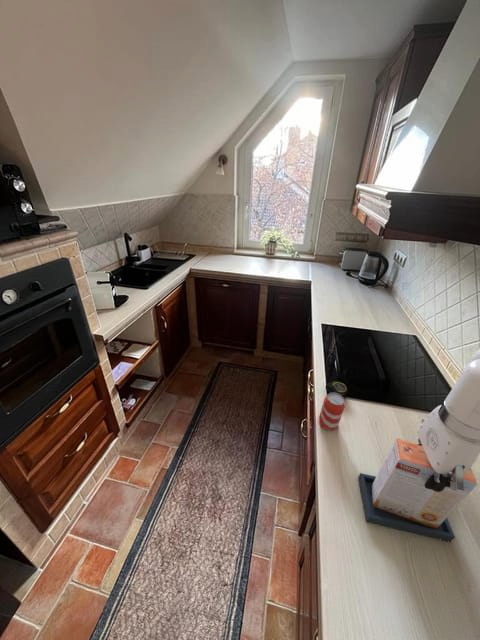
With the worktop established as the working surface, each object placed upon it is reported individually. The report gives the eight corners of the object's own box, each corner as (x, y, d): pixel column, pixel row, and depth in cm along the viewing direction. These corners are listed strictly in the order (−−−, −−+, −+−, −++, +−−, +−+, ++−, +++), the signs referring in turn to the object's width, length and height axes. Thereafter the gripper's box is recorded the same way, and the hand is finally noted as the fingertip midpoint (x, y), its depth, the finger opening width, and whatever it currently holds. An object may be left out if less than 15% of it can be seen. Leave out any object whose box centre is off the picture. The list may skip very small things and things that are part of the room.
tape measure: (323, 389, 99) (325, 382, 98) (337, 385, 102) (339, 378, 100) (335, 402, 94) (337, 395, 92) (349, 397, 96) (352, 390, 94)
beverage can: (327, 434, 83) (335, 409, 76) (314, 418, 88) (321, 394, 81) (341, 427, 85) (350, 403, 79) (328, 413, 90) (336, 388, 84)
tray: (430, 493, 68) (434, 488, 67) (450, 542, 59) (455, 538, 58) (357, 477, 71) (360, 472, 70) (366, 522, 62) (369, 517, 61)
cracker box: (429, 504, 65) (468, 458, 54) (435, 531, 60) (480, 486, 50) (370, 483, 69) (396, 436, 59) (371, 507, 64) (400, 460, 54)
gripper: (423, 383, 55) (395, 434, 65) (466, 459, 41) (422, 511, 50) (461, 389, 54) (427, 440, 63) (520, 469, 40) (465, 521, 49)
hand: (425, 471), depth 57 cm, fingers closed on cracker box, 6 cm apart
